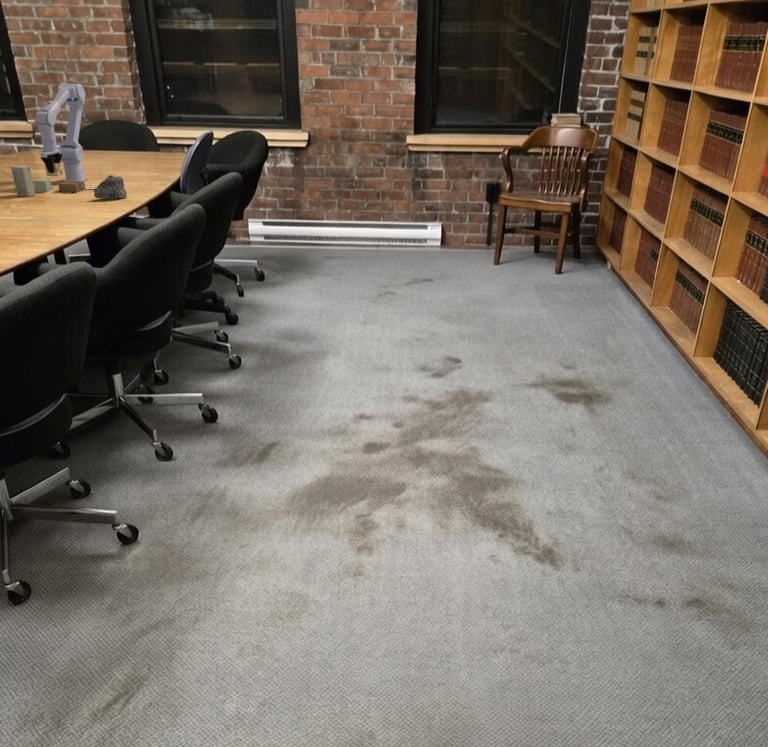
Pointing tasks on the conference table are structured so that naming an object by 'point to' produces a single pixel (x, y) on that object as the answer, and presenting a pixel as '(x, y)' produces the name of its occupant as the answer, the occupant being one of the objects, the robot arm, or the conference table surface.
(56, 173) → the maple cube
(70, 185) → the walnut block
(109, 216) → the conference table surface
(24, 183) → the skincare box
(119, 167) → the conference table surface
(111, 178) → the mineral rock
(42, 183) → the sage cube
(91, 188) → the card
